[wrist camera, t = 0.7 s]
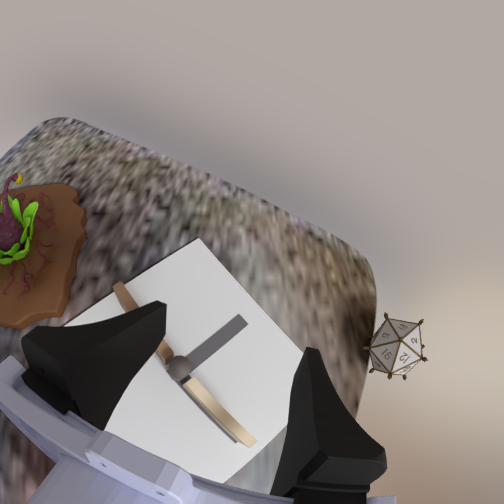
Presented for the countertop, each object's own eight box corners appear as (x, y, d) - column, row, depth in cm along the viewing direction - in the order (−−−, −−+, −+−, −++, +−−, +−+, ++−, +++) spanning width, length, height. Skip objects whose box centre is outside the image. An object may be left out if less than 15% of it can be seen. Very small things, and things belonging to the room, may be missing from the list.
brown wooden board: (173, 359, 26) (174, 352, 21) (165, 365, 25) (165, 359, 21) (127, 299, 27) (120, 280, 23) (119, 304, 27) (112, 286, 22)
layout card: (181, 512, 17) (181, 513, 17) (41, 343, 22) (40, 342, 22) (326, 378, 29) (327, 378, 29) (198, 239, 34) (198, 237, 34)
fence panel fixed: (165, 371, 25) (164, 364, 20) (178, 360, 26) (181, 350, 21) (233, 443, 23) (251, 454, 18) (245, 431, 24) (266, 439, 19)
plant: (-39, 325, 18) (-90, 290, 9) (-12, 201, 27) (-37, 149, 17) (85, 331, 25) (47, 293, 16) (95, 190, 34) (85, 126, 24)
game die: (361, 347, 37) (408, 297, 34) (395, 388, 32) (446, 339, 29) (336, 354, 31) (394, 293, 28) (377, 405, 25) (443, 346, 22)
